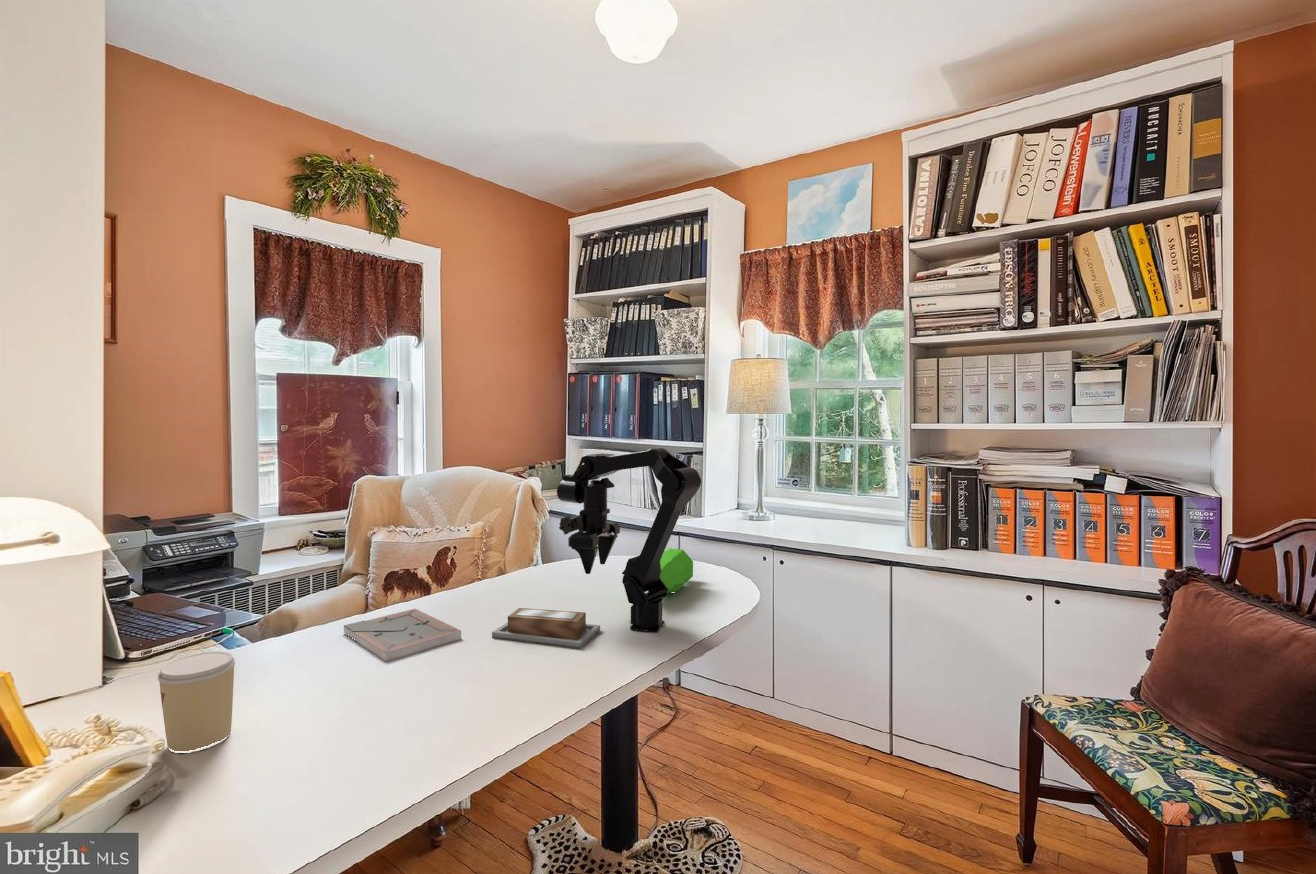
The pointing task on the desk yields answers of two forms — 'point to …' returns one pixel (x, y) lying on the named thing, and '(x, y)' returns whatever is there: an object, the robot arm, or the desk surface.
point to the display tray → (582, 640)
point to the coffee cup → (197, 699)
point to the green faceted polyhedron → (675, 569)
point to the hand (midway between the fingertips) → (595, 568)
